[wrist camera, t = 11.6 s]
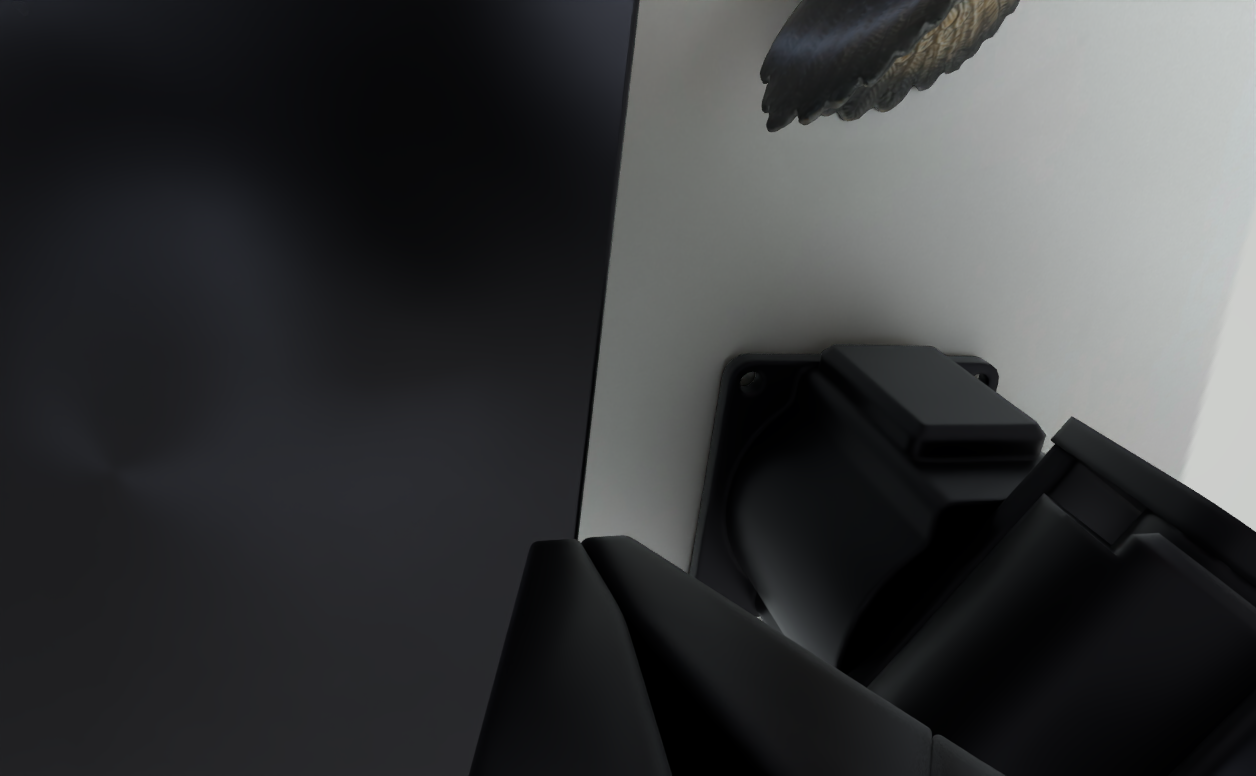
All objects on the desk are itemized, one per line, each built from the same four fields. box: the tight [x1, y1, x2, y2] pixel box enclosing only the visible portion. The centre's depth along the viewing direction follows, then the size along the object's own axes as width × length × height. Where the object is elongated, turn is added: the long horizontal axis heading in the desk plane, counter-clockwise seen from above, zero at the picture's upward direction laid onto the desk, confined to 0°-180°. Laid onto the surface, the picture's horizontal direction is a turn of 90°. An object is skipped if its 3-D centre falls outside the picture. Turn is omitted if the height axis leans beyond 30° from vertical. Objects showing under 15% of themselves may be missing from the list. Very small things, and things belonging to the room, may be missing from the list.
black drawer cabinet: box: [0, 0, 640, 776], centre depth 15 cm, size 12×11×8 cm
